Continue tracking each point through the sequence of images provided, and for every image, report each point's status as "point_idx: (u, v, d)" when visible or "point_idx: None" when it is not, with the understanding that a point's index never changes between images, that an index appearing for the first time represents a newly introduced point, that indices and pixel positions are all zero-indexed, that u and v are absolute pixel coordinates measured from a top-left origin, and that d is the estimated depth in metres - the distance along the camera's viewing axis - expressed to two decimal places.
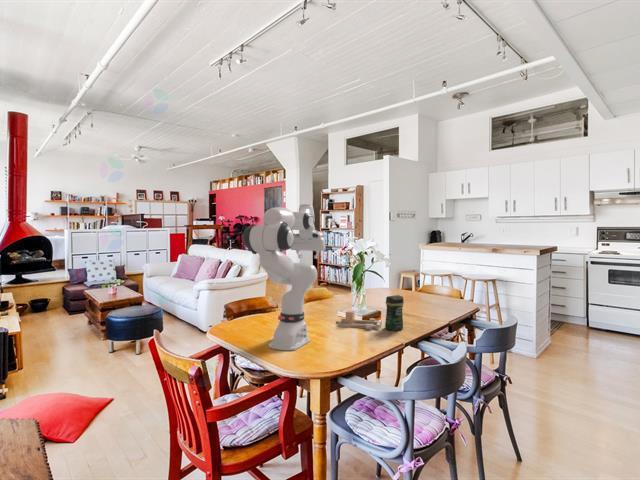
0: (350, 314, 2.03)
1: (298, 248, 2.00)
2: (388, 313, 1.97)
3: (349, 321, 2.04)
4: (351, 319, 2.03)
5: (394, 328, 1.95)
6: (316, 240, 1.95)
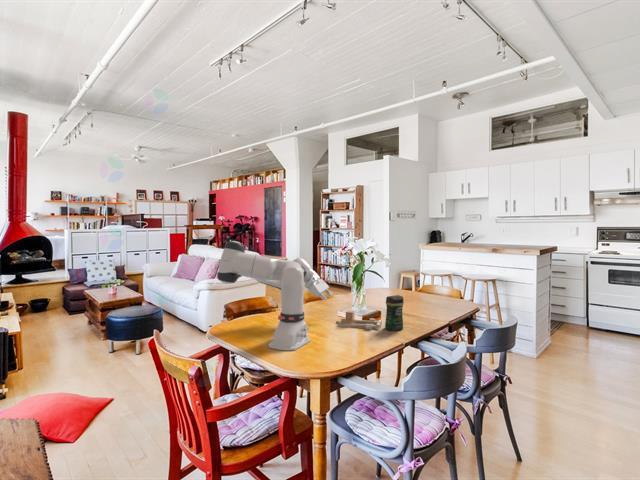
0: (350, 314, 2.03)
1: None
2: (388, 313, 1.97)
3: (349, 321, 2.04)
4: (351, 319, 2.03)
5: (394, 328, 1.95)
6: None
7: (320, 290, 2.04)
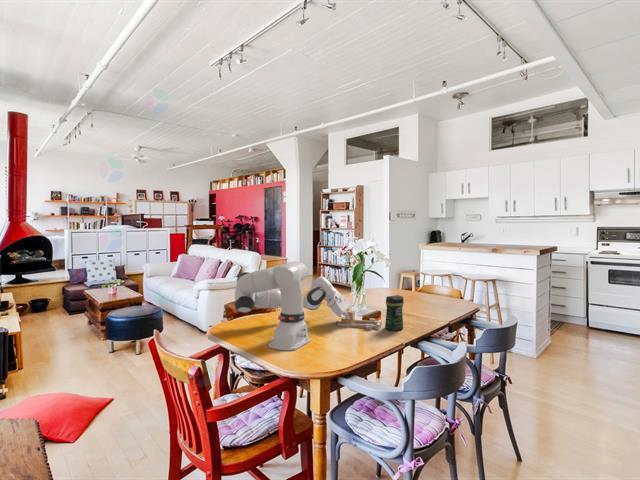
0: (350, 314, 2.03)
1: None
2: (388, 313, 1.97)
3: (349, 321, 2.04)
4: (351, 319, 2.03)
5: (394, 328, 1.95)
6: None
7: (343, 309, 2.00)
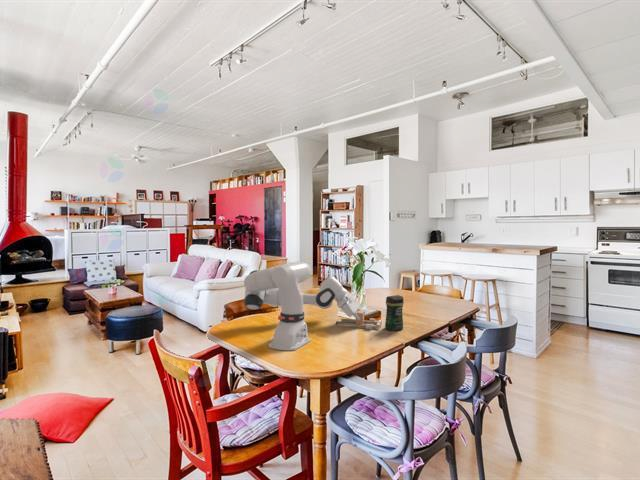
0: (360, 315, 2.02)
1: None
2: (388, 313, 1.97)
3: (359, 322, 2.02)
4: (361, 320, 2.02)
5: (394, 328, 1.95)
6: None
7: (353, 310, 1.99)
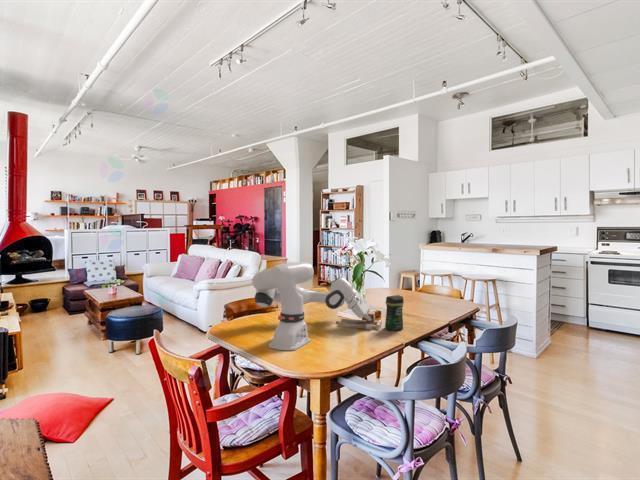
0: (371, 316, 2.00)
1: None
2: (388, 313, 1.97)
3: (370, 323, 2.00)
4: (372, 321, 2.00)
5: (394, 328, 1.95)
6: None
7: (364, 311, 1.97)
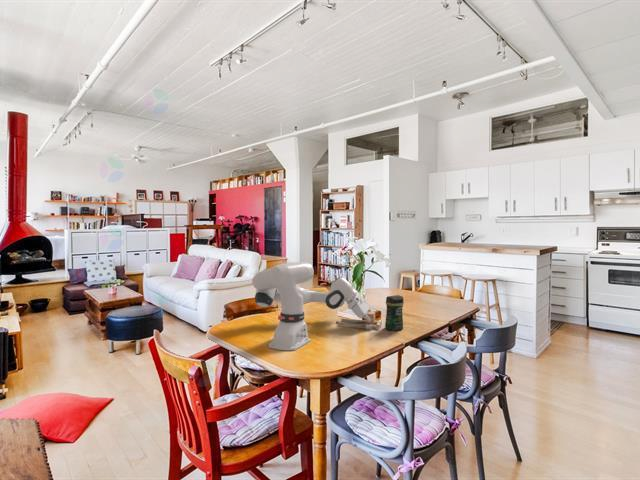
0: (371, 316, 2.00)
1: None
2: (388, 313, 1.97)
3: (370, 323, 2.00)
4: (372, 321, 2.00)
5: (394, 328, 1.95)
6: None
7: (364, 311, 1.97)
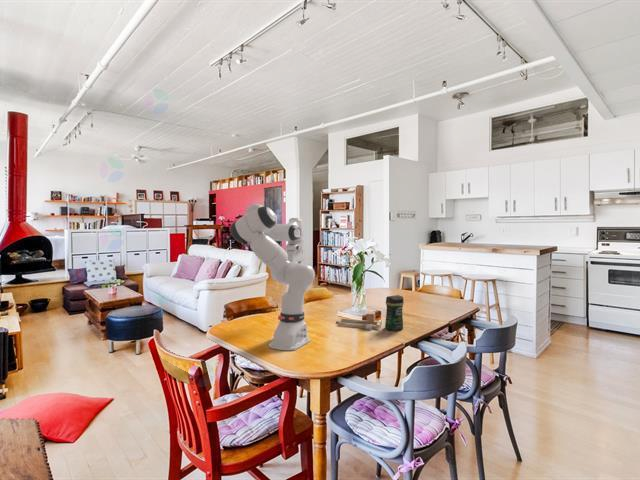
0: (371, 316, 2.00)
1: None
2: (388, 313, 1.97)
3: (370, 323, 2.00)
4: (372, 321, 2.00)
5: (394, 328, 1.95)
6: None
7: (294, 260, 2.04)
